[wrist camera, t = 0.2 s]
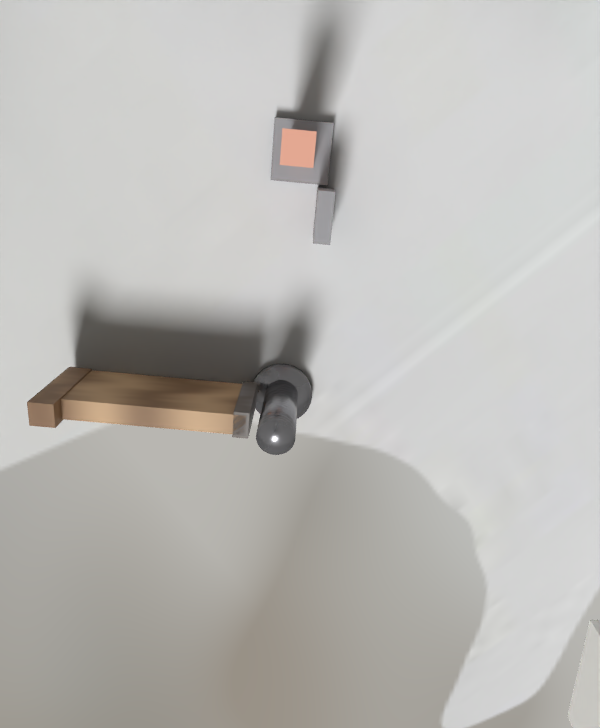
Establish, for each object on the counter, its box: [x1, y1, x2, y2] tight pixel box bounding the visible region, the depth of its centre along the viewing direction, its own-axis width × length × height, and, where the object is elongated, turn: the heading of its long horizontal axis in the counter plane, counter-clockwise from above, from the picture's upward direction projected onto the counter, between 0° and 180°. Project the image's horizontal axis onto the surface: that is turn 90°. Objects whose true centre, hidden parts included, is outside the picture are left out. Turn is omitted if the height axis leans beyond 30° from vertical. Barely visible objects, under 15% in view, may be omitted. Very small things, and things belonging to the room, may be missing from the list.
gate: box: [27, 367, 257, 438], centre depth 36 cm, size 14×2×6 cm, turn 85°
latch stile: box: [271, 117, 336, 245], centre depth 30 cm, size 7×4×9 cm, turn 175°
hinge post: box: [254, 364, 312, 455], centre depth 36 cm, size 4×4×7 cm
